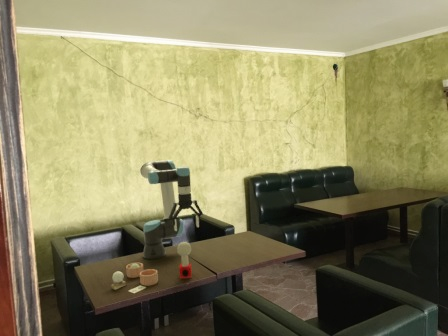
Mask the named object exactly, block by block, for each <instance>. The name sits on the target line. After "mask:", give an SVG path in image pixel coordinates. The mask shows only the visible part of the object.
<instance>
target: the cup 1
mask: <svg viewBox="0 0 448 336" xmlns="http://www.w3.org/2000/svg"><path fill="white" fill-rule="evenodd" d="M132 264H138V265H139V266H140V267H137V268H130V266H131V265H132ZM125 266H126V267H125V270H126V277H128V278H130V279H132V278H133V279H135V278H140V272H142V271H144V270H145V269H144V263H142V262H131V263H129V264H127V265H125Z"/></svg>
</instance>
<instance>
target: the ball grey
mask: <svg viewBox="0 0 448 336" xmlns="http://www.w3.org/2000/svg"><path fill="white" fill-rule="evenodd" d="M124 277H125V276H124V273H123V272H121V271H118V270H117V271H115V272H114V273H113V274H112V281H113V283H114V282H116V283H120V282H121V281H124Z"/></svg>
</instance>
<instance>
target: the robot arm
mask: <svg viewBox="0 0 448 336" xmlns="http://www.w3.org/2000/svg"><path fill="white" fill-rule="evenodd" d="M190 171H191V170H190V167H189V166H178V167H177V168H176V165H175V163H174V161H173V160H171V159H163V160H152V161H147V162H145V163H143V164H142V165H141V167H140V171H139V172H140V175H141V176H142V177H143V178H144V179H147V180H148V183H149V185H157V184H160V190H161V198H162V205H163V206H162V208H163V214H164V217H163V218H162V221H161V220H160V219H154V220H150V221H147V222H145V223H144V224H143V238H144V248H143V253H142V258H144V259H147V260H155V259H160V258H163V257H165V256H166V249H165V246H164V243H163V240H164V239H171V238H177V237H181V236H182V235H183V232H184V222H183V219H182V218H181V217H180V213H181V211H182V210H189V209H190V210H191V211H192V212H193V213H194V214H195V225H196V228H199V227H200V222H201V216H202V215H204V214H203V211H202V209H201V208H200V206H199V204H198V200H196V199H193V200H192V189H191V188H192V187H191V172H190ZM174 183H177V196H178V197H177V198H178V202H176V196H175V190H174V189H175V188H174ZM192 204H194V206H195V207H193V206H192ZM177 207H178V208H177ZM195 208H196V209H195Z"/></svg>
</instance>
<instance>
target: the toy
mask: <svg viewBox="0 0 448 336" xmlns="http://www.w3.org/2000/svg"><path fill="white" fill-rule="evenodd" d="M176 252H177V254H178V255H179V256H181V257H180V259H181V261H180V262H181V263H180V264H179V279H191V278H192V273H193V272H192V271H193V270H192V263H190V262H189V255H190V253H192V246H191V244H190V243H189V242H187V241H182V242H180V243H179V244H178V245H177V249H176Z"/></svg>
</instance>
